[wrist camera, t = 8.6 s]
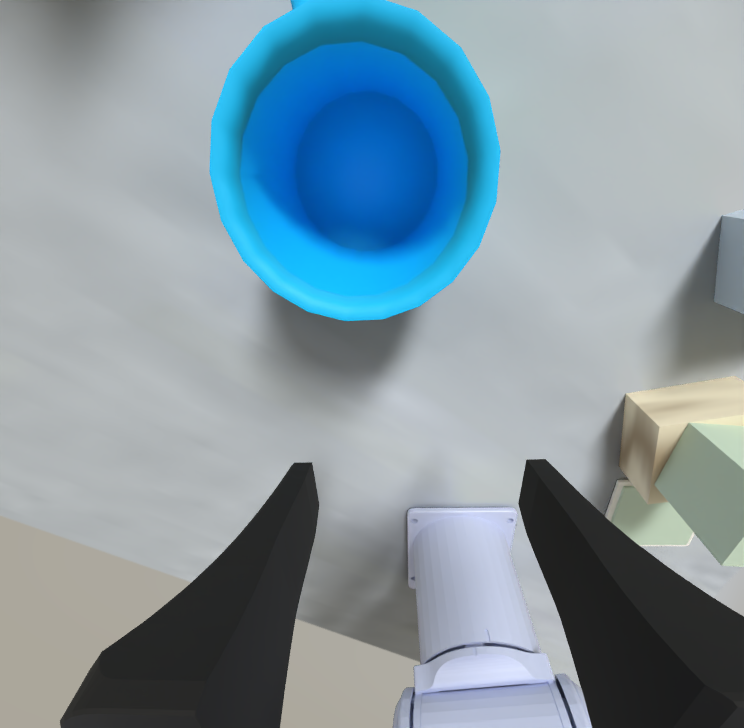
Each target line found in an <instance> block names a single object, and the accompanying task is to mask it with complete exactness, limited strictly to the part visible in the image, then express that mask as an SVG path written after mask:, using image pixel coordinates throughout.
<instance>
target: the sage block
mask: <svg viewBox="0 0 744 728" xmlns="http://www.w3.org/2000/svg"><path fill="white" fill-rule="evenodd" d="M654 485H655V486H656V488H657V489H658V490H659V491H660V492H661V494H662V495H663V496H664V497H665V498H666V500H667V501H668V502H669V503H670V504H671V506H672V507H673V508H674V509H675V510H676V512H677V513H678V514H679V515H680V516H681V518H682V519H683V520H684V521H685V522H686V524H687V525H688V526H689V527H690V528H691V530H692V531H693V532H694V533H695V534H696V536H697V537H698V538H699V539H700V540H701V542H702V543H703V544H704V545H705V546H706V548H707V549H708V550H709V551H710V552H711V554H712V555H713V556H714V557H715V558H716V560H717V561H718V562H719V563H720V564H721V565H722V566H737V567H744V426H735V425H720V424H704V423H688V425H687V427H686V429H685V430H684V432H683V434H682V436H681V438H680V439H679V441H678V443H677V445H676V446H675V448H674V450H673V452H672V454H671V455H670V457H669V459H668V461H667V463H666V464H665V466H664V468H663V470H662V471H661V473H660V475H659V477H658V479H657V480H656V482H655V484H654Z"/></svg>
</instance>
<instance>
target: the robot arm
mask: <svg viewBox="0 0 744 728" xmlns="http://www.w3.org/2000/svg"><path fill="white" fill-rule="evenodd" d="M519 507H520V511H521V515H522V519H523V522H524V526H525V529H526V533H527V536H528V538H529V541H530V543H531V546H532V548H533V551H534V553H535V556H536V558H537V561H538V563H539V566H540V568H541V570H542V573H543V575H544V578H545V580H546V583H547V585H548V587H549V590H550V592H551V595H552V597H553V600H554V602H555V605H556V607H557V610H558V613H559V616H560V618H561V621H562V625H563V628H564V631H565V634H566V638H567V641H568V644H569V647H570V651H571V654H572V657H573V661H574V664H575V668H576V671H577V675H578V678H579V681H580V685H581V688H582V689H581V688H580V687H579V686H578V685H577V684H575V683H574V682H573V681H571V680H570V678H569V677H568V676H567V675H566V674H556V675H555V678H554V675H553V672H552V669H551V666H550V663H549V660H548V656H547V654H546V653H542V652H541V649H540V646H539V643H538V639H537V636H536V633H535V630H534V627H533V623H532V620H531V617H530V614H529V611H528V608H527V604H526V601H525V598H524V595H523V592H522V588H521V585H520V582H519V579H518V576H517V572H516V569H515V566H514V563H513V560H512V556H511V548H512V542H513V537H514V532H515V526H516V521H517V516H518V515H517V512H516V510H515V509H514V508H510V507H501V508H411V509H409V510H408V512H407V531H408V586H409V587H410V588H412V589H416V601H417V616H418V632H419V647H420V663H421V665H416V666H414V683H415V684H414V685H415V687H408V688H406V689H405V690H404V691H403V693H402V695H401V698H400V700H399V701H398V703H397V706H396V708H395V713H394V720H393V728H744V617H743V616H742V615H740V614H738V613H737V612H735V611H733V610H732V609H730V608H728V607H727V606H725V605H724V604H722V603H721V602H719V601H717V600H716V599H714V598H713V597H711V596H709V595H708V594H706V593H705V592H703V591H702V590H700V589H699V588H698V587H696V586H695V585H693V584H692V583H690V582H689V581H687V580H686V579H684V578H683V577H681V576H680V575H678V574H677V573H675V572H674V571H673V570H671V569H670V568H668V567H667V566H666V565H664V564H663V563H662V562H660V561H659V560H658V559H656V558H655V557H654V556H652V555H651V554H650V553H648V552H647V551H646V550H644V549H643V548H642V547H641V546H639V545H638V544H637V543H636V542H634V541H633V540H632V539H631V538H629V537H628V536H627V535H626V534H625V533H623V532H622V531H621V530H620V529H619V528H617V527H616V526H615V525H614V524H613V523H612V522H610V521H609V520H608V519H607V518H606V517H605V516H604V515H603V514H601V513H600V512H599V511H598V510H597V509H596V508H595V507H594V506H593V505H592V504H591V503H590V502H589V501H587V500H586V499H585V498H584V497H583V496H582V495H581V494H580V493H579V492H578V491H577V490H576V489H575V488H574V487H573V486H572V485H571V484H570V483H569V482H568V481H567V480H566V479H565V478H564V477H563V476H562V475H561V474H560V473H559V472H558V471H557V470H556V469H555V468H554V467H553V466H552V465H551V464H550V463H549V462H548V461H547V460H546V459H538V460H526V466H525V471H524V476H523V482H522V487H521V493H520V498H519ZM318 510H319V501H318V495H317V489H316V483H315V477H314V471H313V465H312V463H294V464H293V465H292V466H291V467H290V469H289V470H288V472H287V473H286V475H285V476H284V478H283V479H282V481H281V482H280V483H279V485H278V486H277V488H276V489H275V490H274V492H273V493H272V495H271V496H270V497H269V499H268V500H267V501H266V502H265V504H264V505H263V506H262V508H261V509H260V510H259V512H258V513H257V514H256V515H255V517H254V518H253V519H252V520H251V521H250V523H249V524H248V525H247V526H246V527H245V528H244V530H243V531H242V532H241V533H240V534H239V535H238V537H237V538H236V539H235V540H234V541H233V542H232V543H231V544H230V545H229V546H228V548H227V549H226V550H225V551H224V552H223V553H222V554H221V555H220V556H219V557H218V558H217V559H216V560H215V561H214V562H213V563H212V564H211V565H210V566H209V567H208V568H207V569H205V570H204V571H203V572H202V573H201V574H200V575H199V576H198V577H197V578H196V579H195V580H194V581H193V582H192V583H190V585H188V586H187V587H186V588H185V589H184V590H183V591H181V592H180V593H179V594H178V595H176V596H175V597H174V598H173V599H172V600H170V601H169V602H168V603H167V604H166V605H164V606H163V607H162V608H161V609H160V610H158V611H157V612H156V613H155V614H153V615H152V616H151V617H150V618H148V619H147V620H146V621H144V622H143V623H142V624H140V625H139V626H137V627H136V628H135V629H133V630H132V631H130V632H129V633H128V634H126V635H125V636H124V637H122V638H121V639H119V640H118V641H117V642H115V643H114V644H112V645H111V646H109V647H108V648H107V649H105V650H104V651H102V652H101V654H100V656H99V657H98V659H97V660H96V661H95V663H94V664H93V666H92V668H91V669H90V670H89V672H88V674H87V676H86V677H85V679H84V681H83V682H82V684H81V686H80V688H79V690H78V691H77V693H76V695H75V696H74V698H73V700H72V702H71V703H70V705H69V706H68V708H67V710H66V712H65V713H64V715H63V717H62V719H61V720H60V725H61V728H280V722H281V714H282V706H283V699H284V690H285V684H286V677H287V670H288V663H289V656H290V649H291V643H292V636H293V630H294V623H295V617H296V612H297V608H298V603H299V599H300V595H301V591H302V587H303V582H304V578H305V574H306V570H307V566H308V562H309V558H310V554H311V550H312V546H313V542H314V538H315V533H316V526H317V518H318Z"/></svg>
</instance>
